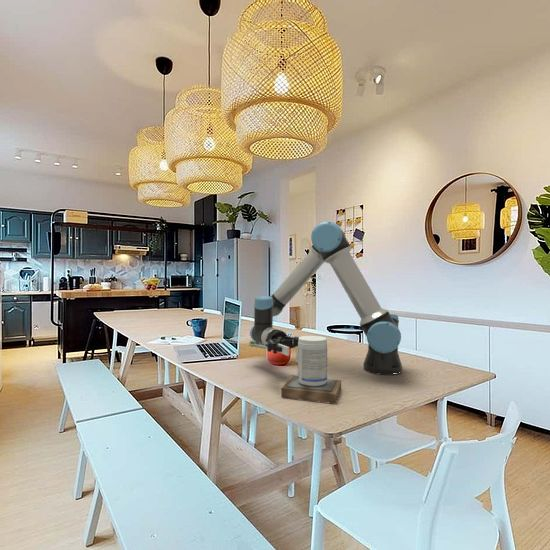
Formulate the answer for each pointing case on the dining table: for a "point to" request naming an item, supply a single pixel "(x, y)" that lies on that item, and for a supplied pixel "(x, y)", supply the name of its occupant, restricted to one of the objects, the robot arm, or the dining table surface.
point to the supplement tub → (312, 360)
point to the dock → (311, 390)
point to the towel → (258, 344)
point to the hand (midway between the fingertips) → (305, 349)
